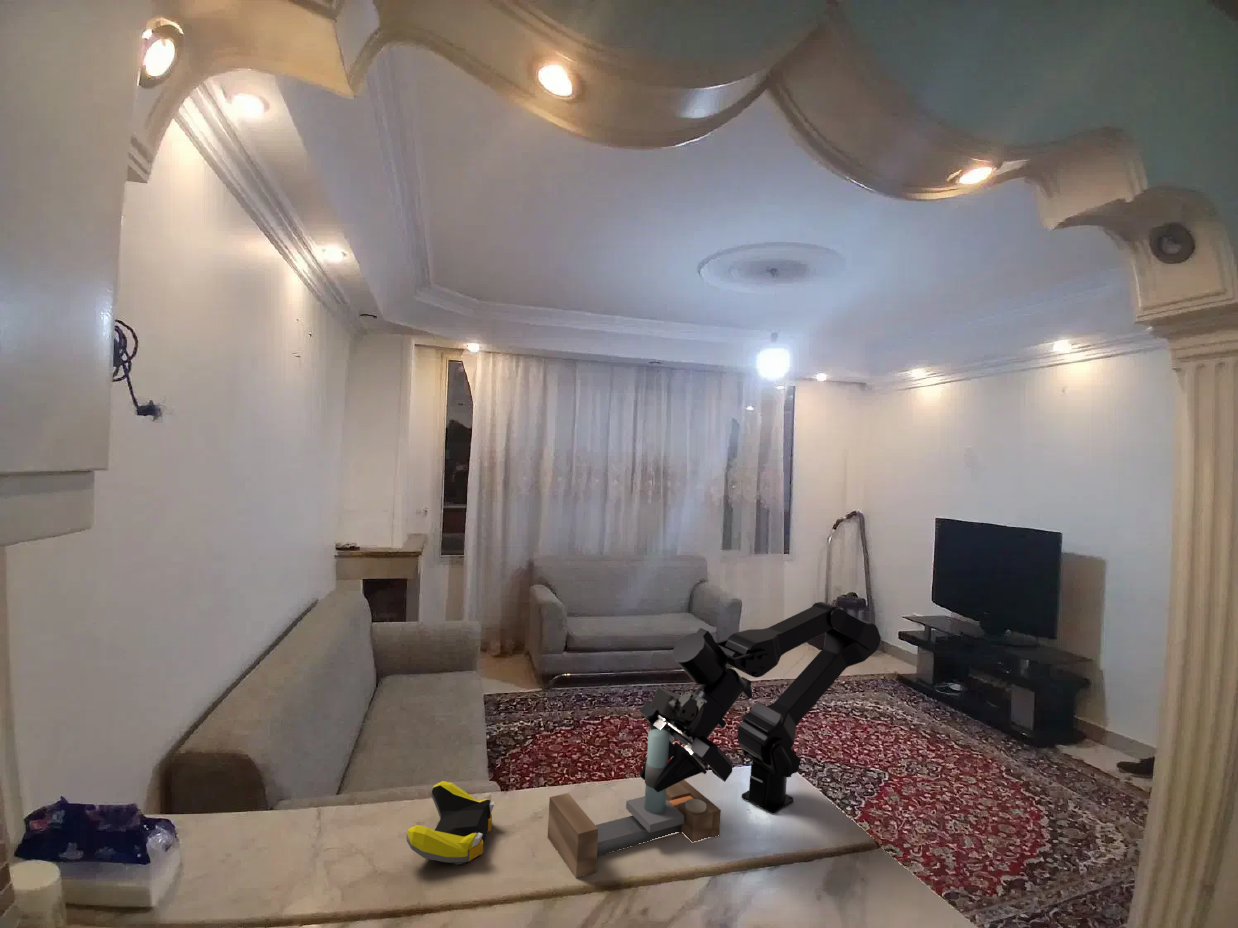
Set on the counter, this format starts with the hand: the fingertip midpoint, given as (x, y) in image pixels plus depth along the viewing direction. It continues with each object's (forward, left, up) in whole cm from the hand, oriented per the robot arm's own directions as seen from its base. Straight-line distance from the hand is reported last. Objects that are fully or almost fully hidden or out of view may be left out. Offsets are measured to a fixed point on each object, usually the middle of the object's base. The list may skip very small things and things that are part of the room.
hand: (648, 783), depth 97 cm
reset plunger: (-6, +2, -5) cm, 8 cm away
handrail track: (+2, -1, -8) cm, 8 cm away
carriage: (-1, 0, -5) cm, 5 cm away
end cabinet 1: (+12, -3, -8) cm, 15 cm away
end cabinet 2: (-7, +2, -8) cm, 11 cm away
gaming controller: (+23, -16, -8) cm, 29 cm away
